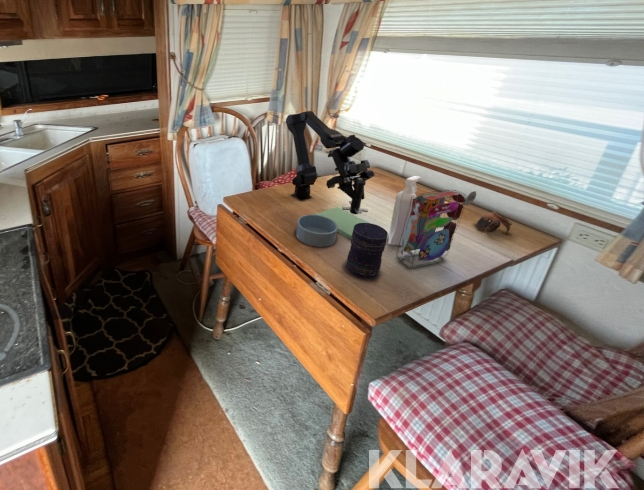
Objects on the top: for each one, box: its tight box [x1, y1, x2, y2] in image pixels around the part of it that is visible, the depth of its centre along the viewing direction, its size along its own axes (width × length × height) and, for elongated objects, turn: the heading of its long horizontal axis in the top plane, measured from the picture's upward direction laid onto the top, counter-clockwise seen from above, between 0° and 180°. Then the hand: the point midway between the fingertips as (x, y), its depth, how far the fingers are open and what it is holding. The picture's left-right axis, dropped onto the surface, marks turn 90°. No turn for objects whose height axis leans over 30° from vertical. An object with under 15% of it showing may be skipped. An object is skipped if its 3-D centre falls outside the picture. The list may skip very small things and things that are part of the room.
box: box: [395, 189, 477, 269], centre depth 117 cm, size 25×6×24 cm, turn 108°
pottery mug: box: [475, 210, 513, 234], centre depth 136 cm, size 12×10×8 cm
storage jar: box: [345, 222, 389, 281], centre depth 113 cm, size 10×10×18 cm
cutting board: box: [313, 206, 370, 240], centre depth 143 cm, size 20×14×2 cm
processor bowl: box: [295, 214, 338, 248], centre depth 134 cm, size 14×14×6 cm
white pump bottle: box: [387, 175, 422, 247], centre depth 126 cm, size 7×12×25 cm, turn 126°
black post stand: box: [341, 179, 369, 215], centre depth 134 cm, size 9×8×13 cm
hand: (359, 199), depth 133 cm, fingers closed on black post stand, 3 cm apart
